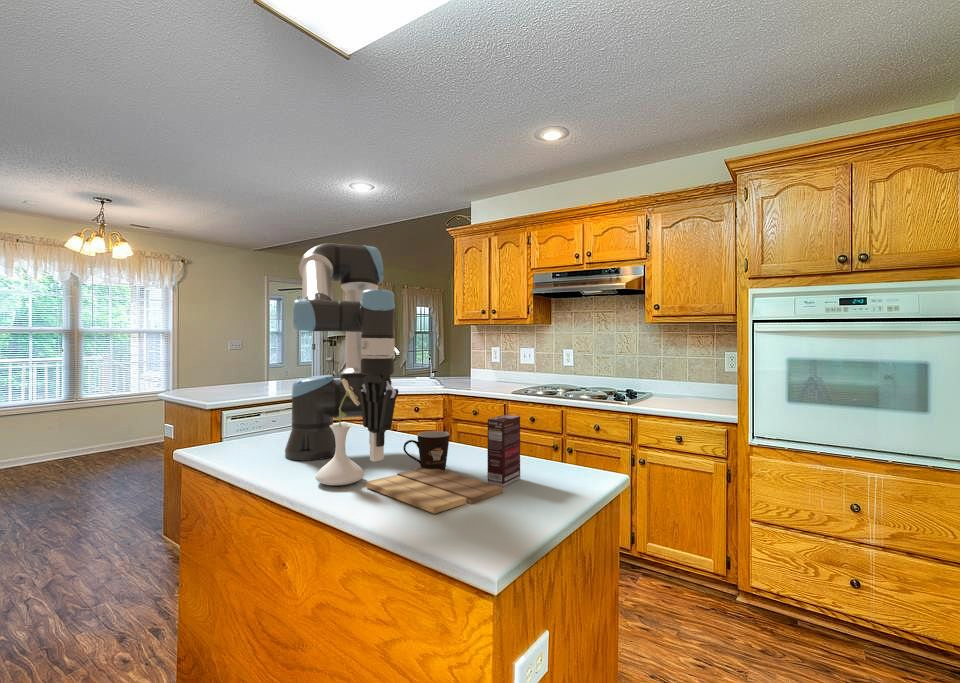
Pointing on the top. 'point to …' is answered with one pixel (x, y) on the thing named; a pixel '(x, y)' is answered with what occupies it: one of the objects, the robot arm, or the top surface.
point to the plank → (416, 493)
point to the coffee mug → (431, 449)
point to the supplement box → (503, 450)
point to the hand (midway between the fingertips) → (376, 459)
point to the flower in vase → (341, 452)
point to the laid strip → (454, 483)
